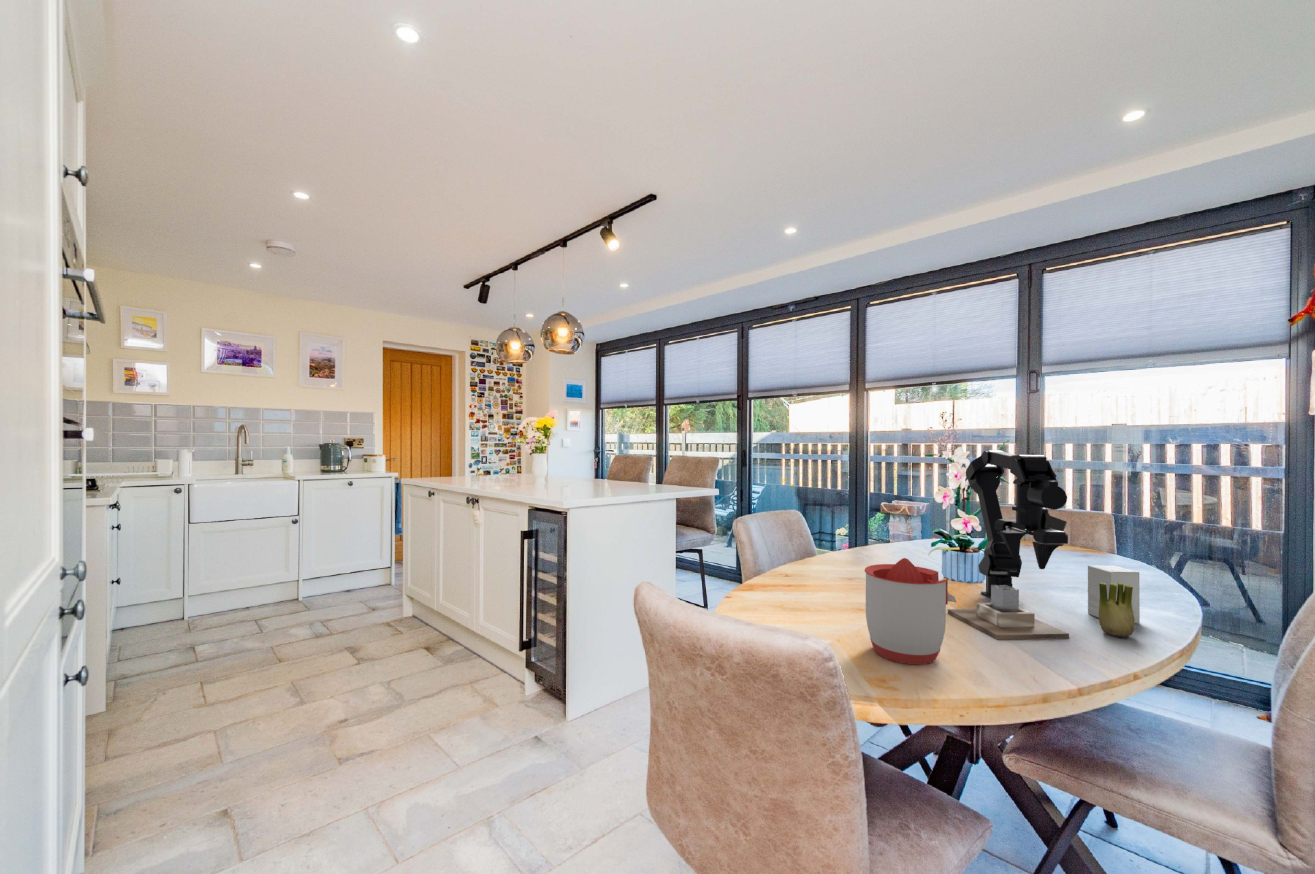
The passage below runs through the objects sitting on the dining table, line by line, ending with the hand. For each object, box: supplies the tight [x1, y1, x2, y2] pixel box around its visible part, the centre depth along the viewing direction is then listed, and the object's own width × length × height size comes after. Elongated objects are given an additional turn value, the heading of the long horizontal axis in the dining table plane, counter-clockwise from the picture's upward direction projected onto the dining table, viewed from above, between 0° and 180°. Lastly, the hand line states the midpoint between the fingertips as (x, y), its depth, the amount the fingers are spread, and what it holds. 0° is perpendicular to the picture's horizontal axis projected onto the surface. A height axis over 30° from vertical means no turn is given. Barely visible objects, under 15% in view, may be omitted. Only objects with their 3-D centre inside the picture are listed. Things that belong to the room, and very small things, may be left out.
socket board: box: [947, 602, 1070, 640], centre depth 129 cm, size 18×17×4 cm
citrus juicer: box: [864, 557, 957, 665], centre depth 110 cm, size 16×17×20 cm
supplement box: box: [1087, 564, 1141, 624], centre depth 134 cm, size 7×7×13 cm
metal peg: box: [990, 585, 1020, 612], centre depth 129 cm, size 4×4×8 cm
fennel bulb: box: [1098, 583, 1136, 639], centre depth 122 cm, size 6×5×12 cm
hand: (1028, 564), depth 137 cm, fingers open, 9 cm apart
